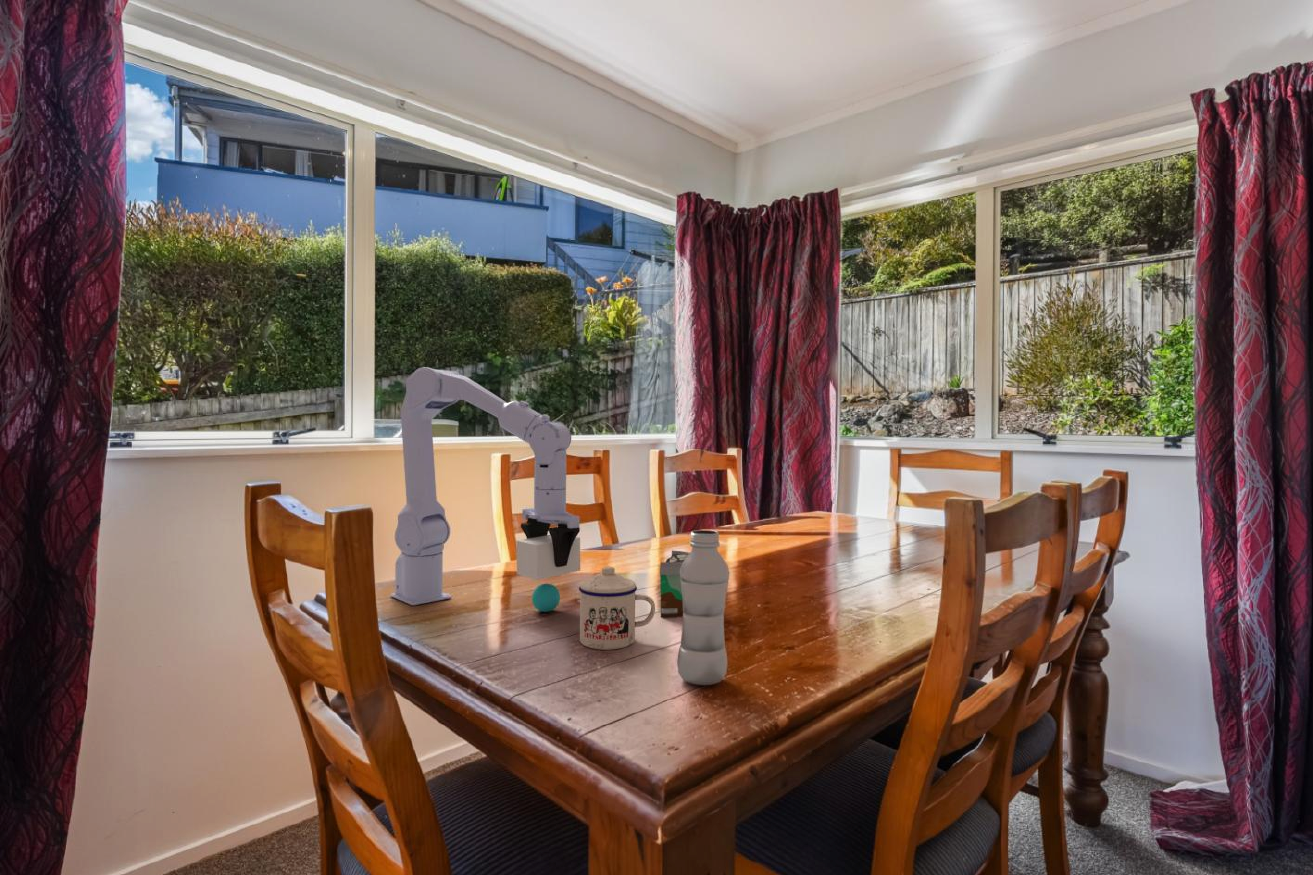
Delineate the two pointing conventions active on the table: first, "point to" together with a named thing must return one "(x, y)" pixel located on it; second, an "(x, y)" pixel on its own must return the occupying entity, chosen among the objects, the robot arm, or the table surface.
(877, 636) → the table surface
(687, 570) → the plastic bottle
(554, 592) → the ball
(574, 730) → the table surface
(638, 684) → the table surface
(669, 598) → the food container
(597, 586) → the teacup with lid
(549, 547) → the white block
